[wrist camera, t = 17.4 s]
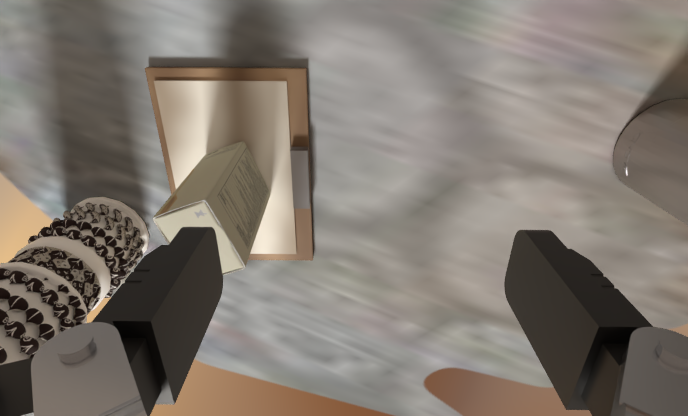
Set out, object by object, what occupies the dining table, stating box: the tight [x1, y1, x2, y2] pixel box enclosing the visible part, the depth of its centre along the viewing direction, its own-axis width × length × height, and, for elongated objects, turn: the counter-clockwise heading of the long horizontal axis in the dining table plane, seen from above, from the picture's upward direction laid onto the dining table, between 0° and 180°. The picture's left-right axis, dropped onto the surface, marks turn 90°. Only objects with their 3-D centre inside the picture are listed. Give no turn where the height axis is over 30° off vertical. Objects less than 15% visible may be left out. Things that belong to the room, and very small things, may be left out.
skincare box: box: [153, 141, 271, 275], centre depth 33 cm, size 6×4×12 cm
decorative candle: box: [0, 197, 149, 365], centre depth 32 cm, size 9×9×25 cm
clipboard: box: [145, 67, 313, 260], centre depth 39 cm, size 14×20×2 cm
